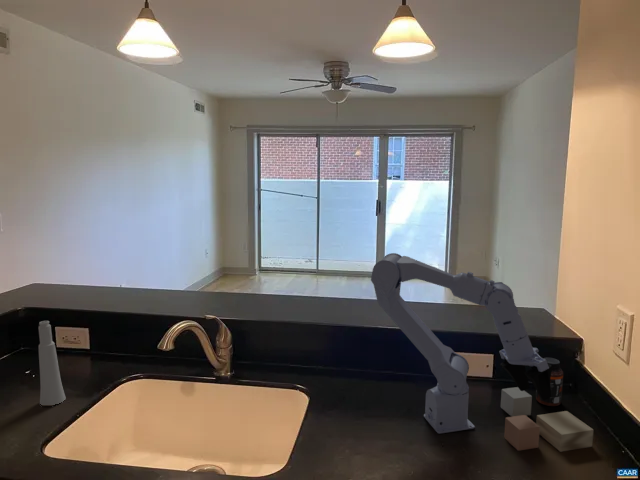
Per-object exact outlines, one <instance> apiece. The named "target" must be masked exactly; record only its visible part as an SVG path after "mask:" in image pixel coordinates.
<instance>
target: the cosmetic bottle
mask: <svg viewBox="0 0 640 480" xmlns="http://www.w3.org/2000/svg"><path fill="white" fill-rule="evenodd" d="M38 337H39V344H38V360H39V361H38V362H39V379H40V381H39V382H40V394H39V395H40V396H39V405H40V404H41V405H55V404H59V403H61V402H62V403H64V402H65V401H64V400H66V398H67V397H66V394H65V391H64V388H63V384H62V379H61V373H60V367H59V362H58V355H57V349H56V345H55V344H56V343H55V342H54V341H53V334H52V325H51V324H50V321H49V320H42V321H39V323H38ZM63 401H64V402H63ZM62 403H61V404H62ZM41 405H40V406H41ZM59 405H60V404H59Z"/></svg>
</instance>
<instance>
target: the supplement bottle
mask: <svg viewBox="0 0 640 480" xmlns="http://www.w3.org/2000/svg"><path fill="white" fill-rule="evenodd" d="M543 359H545V360H546V361H547V364H550V365H552V368H553V369H552V372H551V378H550V385H551V397H550V398H548V399H546V400H542V399H541V398H540V396H539V394H538V392H537V390H536V389H535V399H536V401H537V402H538V403H539V404H542V405H544V406H547V407H558V406H559V405H561V404H562V396H563V385H564V384H563V383H564V371H563V369H562V368H561V362H560V360H559V359H556V358H553V357H544V358H543Z"/></svg>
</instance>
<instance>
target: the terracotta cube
mask: <svg viewBox="0 0 640 480" xmlns="http://www.w3.org/2000/svg"><path fill="white" fill-rule="evenodd" d="M539 431H540V426H538V425H537V424H536V421H533V420H532V419H531V418H530V417H528V415H527V416H526V415H520V416H513V417H511V416H507V417H505V420H504V435H503V436H504V439H505V440H506V441H507V442H508V443H509V444H510V445H511V446H513V448H515V449H516V450H517V451H519V452H520V451H526V450H531V449H536V448H537V449H538V448H539V443H540V442H539V441H540V434H539Z"/></svg>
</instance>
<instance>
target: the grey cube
mask: <svg viewBox="0 0 640 480" xmlns="http://www.w3.org/2000/svg"><path fill="white" fill-rule="evenodd" d="M500 392H501V395H500V408H501V409H502V410H503V411H504V412H505V413H507V414H508V415H509V417H513V416H520V415H526V416H527V417H528V416H531V415H532V414H531V413H532V402H533V401H532V400H533V396H532V395H531V394H530V393H528V392H527V391H526V390H524V391H520V389H519V388H518V386H516V387H507V388H502V389H501V391H500Z"/></svg>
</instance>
